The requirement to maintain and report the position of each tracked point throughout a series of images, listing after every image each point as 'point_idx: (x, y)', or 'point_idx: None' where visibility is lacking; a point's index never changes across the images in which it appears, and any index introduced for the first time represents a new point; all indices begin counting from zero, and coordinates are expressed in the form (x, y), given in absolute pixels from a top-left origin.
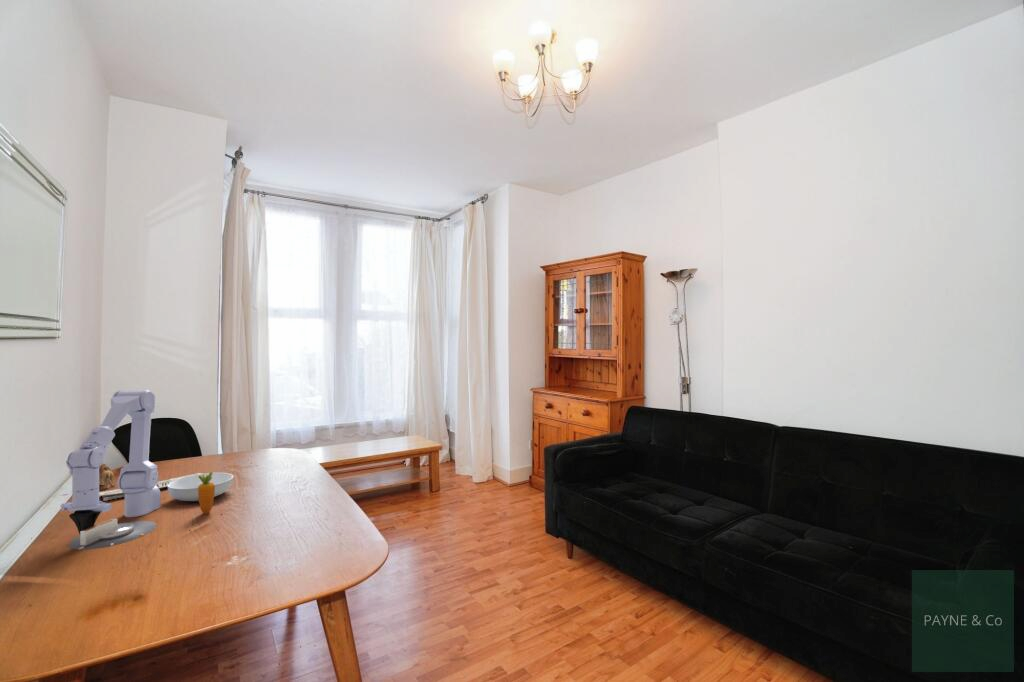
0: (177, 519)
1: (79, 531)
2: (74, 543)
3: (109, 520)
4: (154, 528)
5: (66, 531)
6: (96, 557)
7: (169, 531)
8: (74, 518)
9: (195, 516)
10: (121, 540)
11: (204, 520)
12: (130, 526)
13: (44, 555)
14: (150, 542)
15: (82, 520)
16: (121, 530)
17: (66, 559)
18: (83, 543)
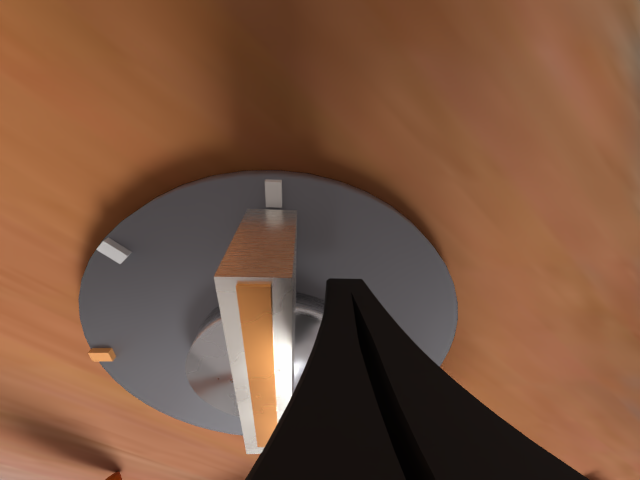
0: (197, 450)
1: (368, 302)
2: (398, 250)
3: (266, 436)
4: (145, 401)
5: (567, 358)
6: (53, 106)
7: (85, 392)
8: (469, 456)
9: (158, 467)
10: (138, 299)
11: (75, 455)
12: (226, 402)
13: (490, 120)
14: (5, 310)
15: (308, 423)
16: (214, 369)
17: (256, 58)
18: (265, 213)
